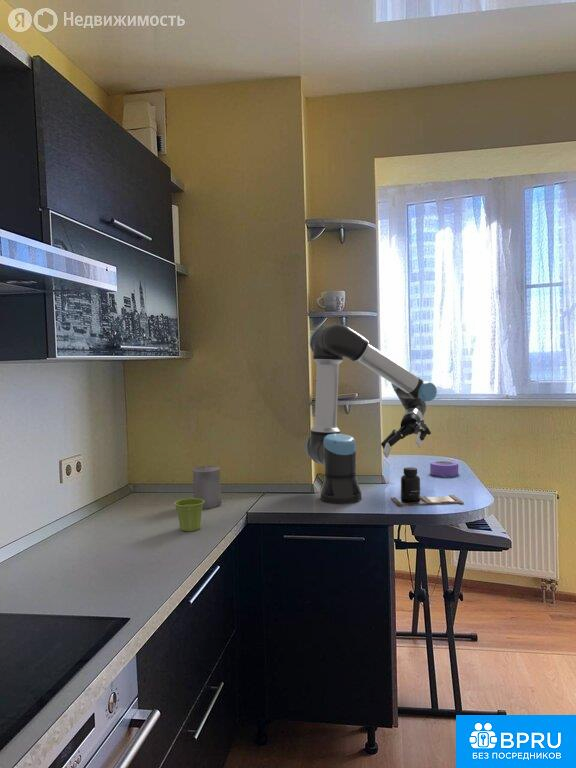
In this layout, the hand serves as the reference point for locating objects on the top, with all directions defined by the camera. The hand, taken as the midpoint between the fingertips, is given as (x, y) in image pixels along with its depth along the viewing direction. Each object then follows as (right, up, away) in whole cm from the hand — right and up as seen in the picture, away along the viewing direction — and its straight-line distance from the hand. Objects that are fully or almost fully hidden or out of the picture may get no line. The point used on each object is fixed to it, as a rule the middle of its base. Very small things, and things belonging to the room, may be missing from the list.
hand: (401, 449), depth 215 cm
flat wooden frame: (+8, -18, -6) cm, 20 cm away
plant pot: (-73, -22, -31) cm, 82 cm away
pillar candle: (-71, -20, -3) cm, 74 cm away
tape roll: (+26, -15, +38) cm, 48 cm away
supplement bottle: (+2, -18, -6) cm, 19 cm away
